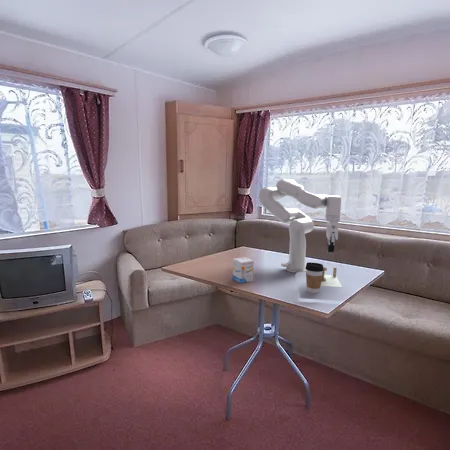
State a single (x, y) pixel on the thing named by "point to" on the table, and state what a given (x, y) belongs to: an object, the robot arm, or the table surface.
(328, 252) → the peg
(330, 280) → the base board
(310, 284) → the coffee cup
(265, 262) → the table surface
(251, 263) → the ink box
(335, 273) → the notched rail
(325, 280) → the bobbin
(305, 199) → the robot arm
